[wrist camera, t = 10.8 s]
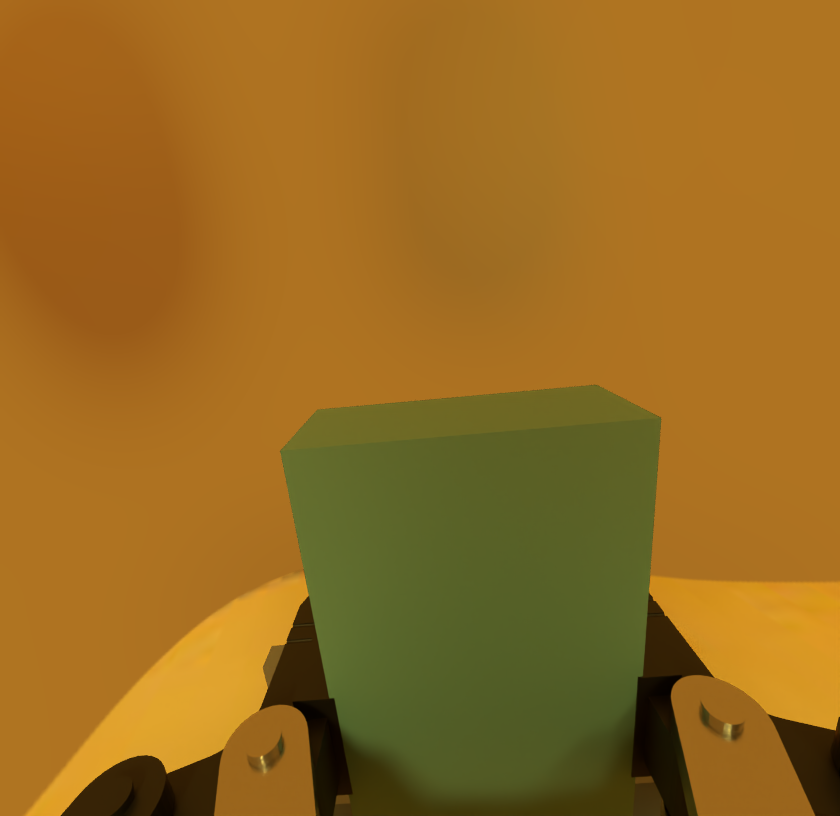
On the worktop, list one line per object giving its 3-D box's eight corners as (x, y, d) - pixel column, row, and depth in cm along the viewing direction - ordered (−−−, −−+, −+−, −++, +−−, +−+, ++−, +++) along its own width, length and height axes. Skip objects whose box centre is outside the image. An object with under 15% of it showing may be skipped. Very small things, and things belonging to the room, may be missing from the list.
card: (585, 839, 10) (596, 384, 7) (622, 964, 8) (661, 417, 5) (391, 851, 10) (317, 409, 7) (384, 975, 9) (280, 450, 5)
